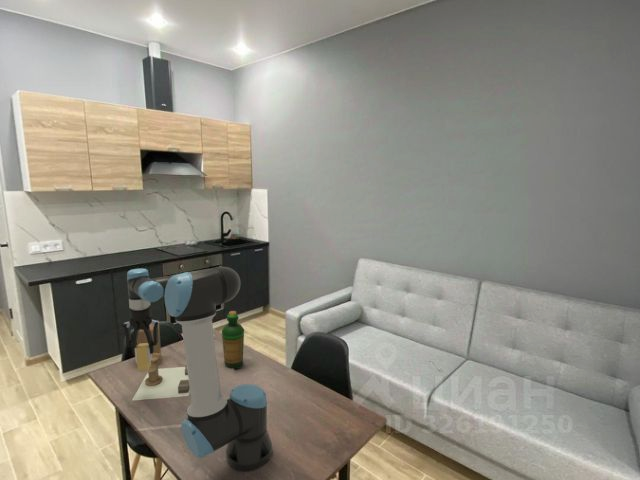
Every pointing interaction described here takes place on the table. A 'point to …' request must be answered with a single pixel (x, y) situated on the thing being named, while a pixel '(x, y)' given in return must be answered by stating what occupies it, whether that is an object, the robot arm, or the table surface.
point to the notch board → (184, 384)
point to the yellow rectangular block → (142, 357)
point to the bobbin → (154, 371)
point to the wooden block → (143, 339)
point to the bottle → (233, 342)
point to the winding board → (163, 385)
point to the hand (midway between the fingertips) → (144, 361)
